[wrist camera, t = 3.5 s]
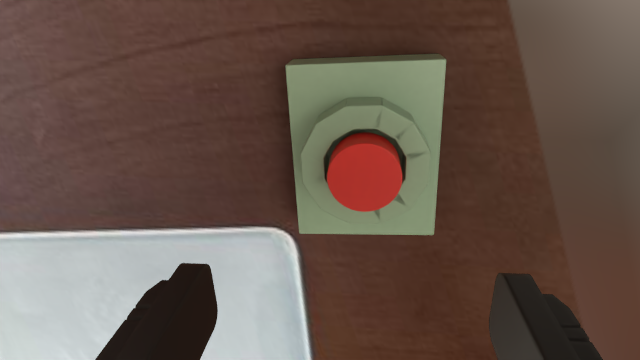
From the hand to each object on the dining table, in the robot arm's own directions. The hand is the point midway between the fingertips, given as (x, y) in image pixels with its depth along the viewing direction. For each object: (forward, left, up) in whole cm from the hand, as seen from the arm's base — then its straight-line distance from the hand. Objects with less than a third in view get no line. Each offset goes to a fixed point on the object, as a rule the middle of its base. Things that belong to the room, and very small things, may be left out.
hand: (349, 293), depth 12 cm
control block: (0, 0, -14) cm, 14 cm away
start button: (0, 0, -10) cm, 11 cm away
